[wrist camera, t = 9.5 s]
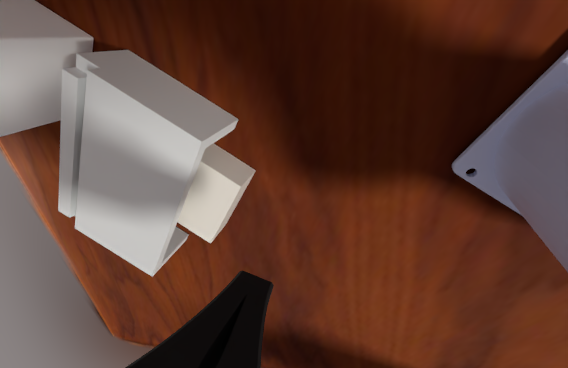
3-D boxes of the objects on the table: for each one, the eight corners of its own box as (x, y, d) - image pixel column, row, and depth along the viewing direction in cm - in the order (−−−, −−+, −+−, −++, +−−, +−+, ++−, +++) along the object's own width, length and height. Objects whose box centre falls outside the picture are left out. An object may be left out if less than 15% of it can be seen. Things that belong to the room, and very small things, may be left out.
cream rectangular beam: (255, 170, 20) (241, 187, 18) (226, 224, 23) (210, 243, 21) (135, 93, 20) (106, 100, 18) (122, 158, 23) (96, 170, 21)
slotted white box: (238, 119, 18) (201, 141, 14) (186, 240, 25) (152, 276, 21) (128, 49, 18) (62, 53, 14) (106, 189, 25) (58, 217, 21)
